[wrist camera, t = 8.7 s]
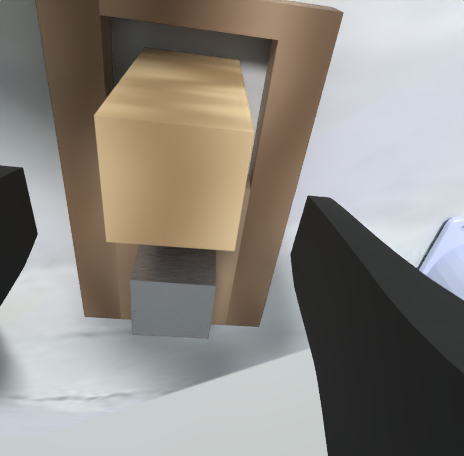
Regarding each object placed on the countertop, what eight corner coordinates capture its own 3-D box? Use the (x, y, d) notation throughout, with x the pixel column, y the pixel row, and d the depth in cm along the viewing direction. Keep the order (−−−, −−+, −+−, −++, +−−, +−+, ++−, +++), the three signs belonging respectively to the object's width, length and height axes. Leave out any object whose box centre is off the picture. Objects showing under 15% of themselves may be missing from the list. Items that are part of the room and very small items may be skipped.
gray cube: (215, 229, 21) (216, 286, 18) (209, 279, 24) (208, 338, 20) (144, 223, 21) (129, 280, 17) (145, 274, 23) (132, 334, 20)
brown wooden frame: (333, 7, 15) (343, 12, 14) (256, 309, 25) (258, 326, 24) (46, -37, 14) (29, -35, 13) (91, 298, 24) (84, 316, 23)
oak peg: (239, 59, 16) (254, 132, 10) (228, 146, 18) (234, 251, 12) (144, 47, 16) (93, 115, 9) (145, 137, 18) (106, 241, 12)
